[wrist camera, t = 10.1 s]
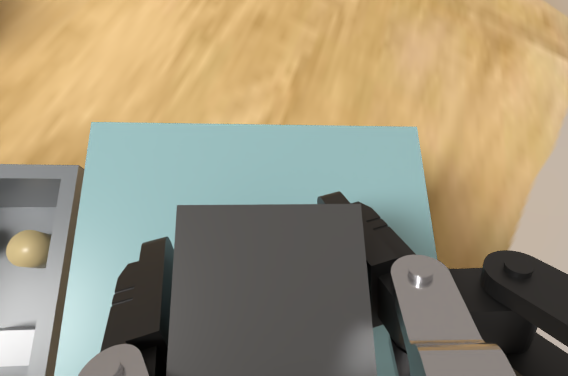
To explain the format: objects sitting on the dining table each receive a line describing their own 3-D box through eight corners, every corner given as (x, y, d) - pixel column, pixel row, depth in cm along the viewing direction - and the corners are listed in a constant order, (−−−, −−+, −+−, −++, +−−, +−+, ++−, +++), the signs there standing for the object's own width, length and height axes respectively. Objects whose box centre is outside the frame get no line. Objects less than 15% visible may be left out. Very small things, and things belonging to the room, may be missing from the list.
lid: (59, 513, 12) (-357, 1000, 4) (108, 139, 17) (-42, -14, 8) (447, 480, 14) (756, 785, 5) (401, 142, 18) (531, 14, 10)
